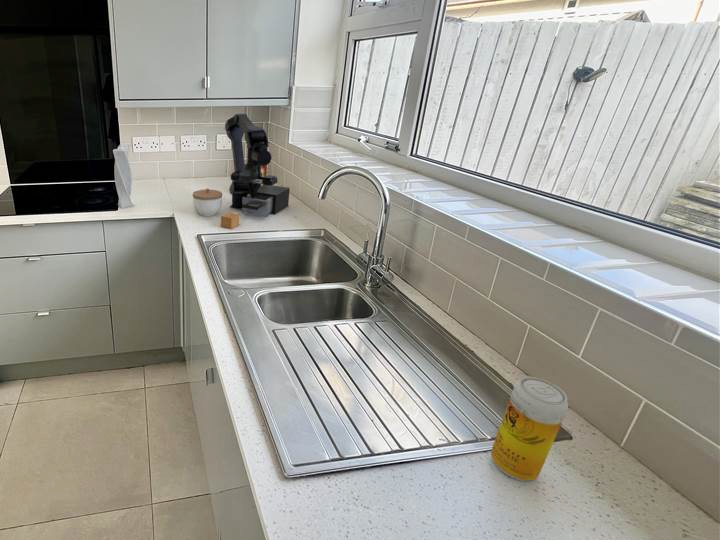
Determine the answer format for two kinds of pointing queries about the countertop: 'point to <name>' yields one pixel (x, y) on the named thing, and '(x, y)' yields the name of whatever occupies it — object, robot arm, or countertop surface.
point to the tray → (258, 205)
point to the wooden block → (229, 220)
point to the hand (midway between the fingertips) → (252, 198)
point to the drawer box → (276, 196)
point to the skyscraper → (123, 176)
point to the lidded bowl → (207, 201)
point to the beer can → (529, 428)
